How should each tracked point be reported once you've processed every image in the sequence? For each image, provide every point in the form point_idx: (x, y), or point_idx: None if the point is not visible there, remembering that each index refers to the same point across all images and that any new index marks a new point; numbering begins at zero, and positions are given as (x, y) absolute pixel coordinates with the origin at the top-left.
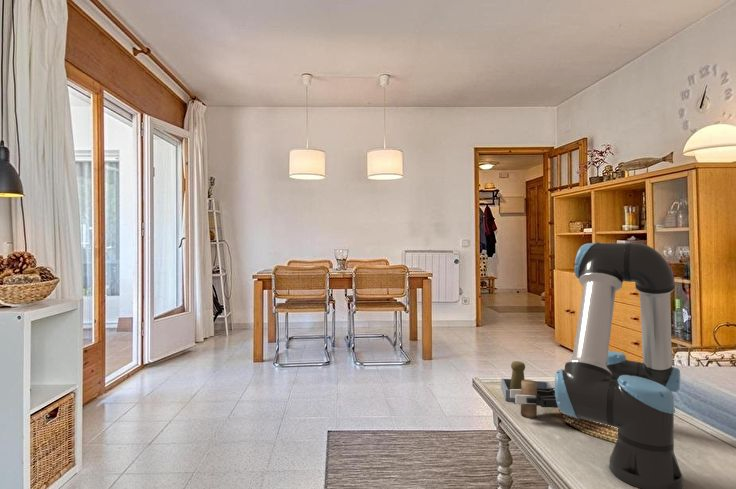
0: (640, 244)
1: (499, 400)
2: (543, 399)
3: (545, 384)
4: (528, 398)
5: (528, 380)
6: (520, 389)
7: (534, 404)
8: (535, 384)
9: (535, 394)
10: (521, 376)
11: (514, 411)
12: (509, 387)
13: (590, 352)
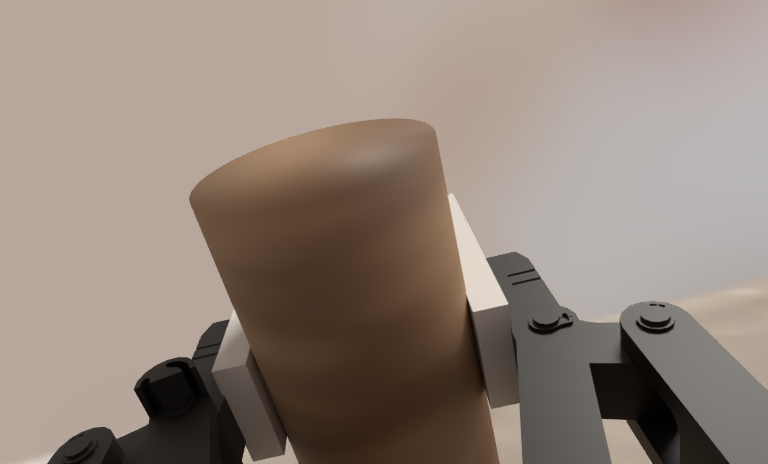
0: None
1: (760, 308)
2: (64, 457)
3: None
4: (221, 329)
5: (394, 145)
6: (471, 241)
7: (299, 461)
8: (197, 217)
9: (259, 362)
10: None
11: (503, 409)
12: None
13: None
